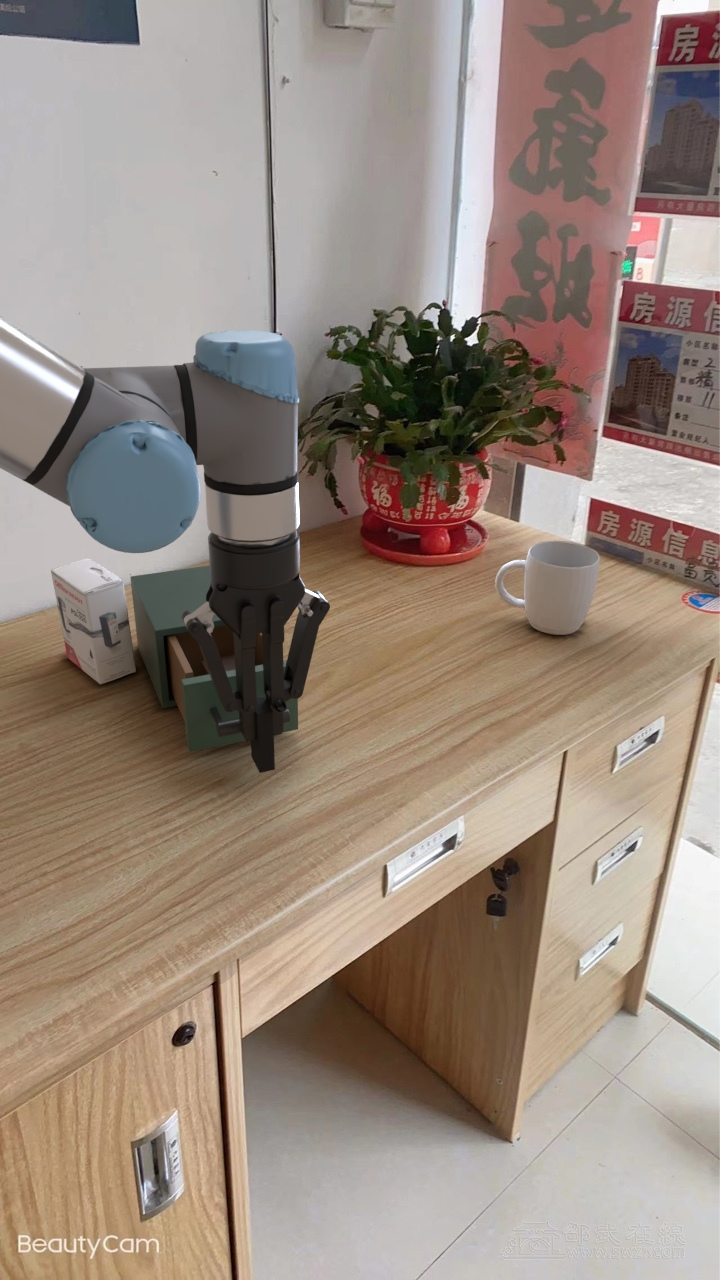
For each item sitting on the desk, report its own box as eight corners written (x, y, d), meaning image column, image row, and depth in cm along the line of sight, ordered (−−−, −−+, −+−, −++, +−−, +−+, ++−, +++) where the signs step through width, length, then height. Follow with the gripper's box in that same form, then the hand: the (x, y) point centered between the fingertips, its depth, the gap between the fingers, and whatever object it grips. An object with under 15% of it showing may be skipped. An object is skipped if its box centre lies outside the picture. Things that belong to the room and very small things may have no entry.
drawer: (312, 751, 88) (312, 684, 84) (199, 776, 84) (194, 707, 80) (260, 668, 102) (257, 607, 98) (161, 686, 98) (155, 624, 94)
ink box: (63, 658, 105) (48, 566, 99) (101, 645, 108) (89, 555, 102) (98, 687, 99) (85, 592, 94) (138, 672, 102) (127, 579, 97)
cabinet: (273, 687, 100) (271, 611, 96) (162, 708, 96) (154, 630, 91) (238, 631, 112) (234, 561, 107) (138, 648, 108) (130, 576, 103)
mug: (592, 615, 118) (603, 545, 113) (585, 645, 111) (597, 572, 106) (498, 600, 121) (505, 532, 117) (485, 629, 114) (492, 557, 109)
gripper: (312, 506, 78) (314, 728, 89) (165, 524, 73) (186, 755, 85) (344, 536, 72) (341, 770, 83) (185, 557, 67) (205, 802, 79)
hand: (263, 763), depth 84 cm, fingers closed
